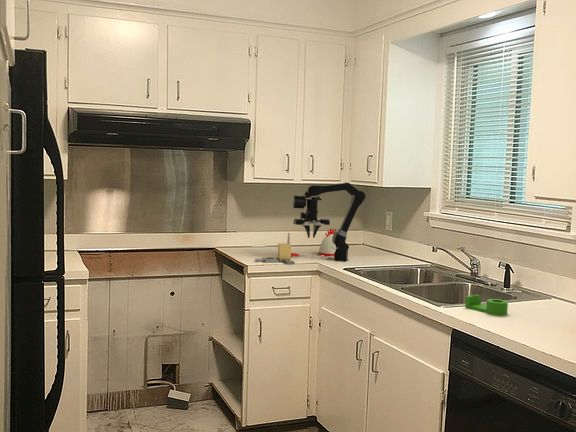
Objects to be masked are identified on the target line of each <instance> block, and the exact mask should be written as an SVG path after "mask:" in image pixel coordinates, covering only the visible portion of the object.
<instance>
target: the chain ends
mask: <svg viewBox="0 0 576 432" xmlns="http://www.w3.org/2000/svg"><path fill="white" fill-rule="evenodd" d="M254 260H255V262H256V263H265V264H269V263H271V264H272V263H273V264H274V263H276V264H277V263H285V264H286V265H295V264H296V261H294V260H292V259H291V260H290V259H279V261H278V256H276V257H273V256H272V257H271V256H268V257H265V256H264V257H261V258H255V259H254Z"/></svg>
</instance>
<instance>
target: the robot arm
mask: <svg viewBox="0 0 576 432" xmlns="http://www.w3.org/2000/svg"><path fill="white" fill-rule="evenodd" d="M339 191H346V192H347V193H348V194H349V195H351V198H350V202H349V203H350V204H349V207H348V210H347V211H346V214H345V216H344V218H343V220H342V223H341V224H340V227H339V229H338V230H336V231H335V230H334V231H335V232H334V235H333V236H332V242H333V244H334V245H335V246H336V248H337V249H336V251H335V253H334V257H333V259H334V261H336V262H337V261H338V262H347V261H349V260H350V259H349V248H350V245H348V243H346V240H347V237H348V236H347V234H348V231H349V228H350V226H351V223H352V222H353V219H354V218H355V215H356V212H357V211H358V209H359V207H360V206H361V205H362V204H363V202H364V201H365V199H366V194H365V192H364V191H362V190H359V189H357V188H356V187H354V186H353V185H352V184H351V183H350V182H348V181H347V182H342V183H334V184H333V183H332V184H325V185H322V184H321V185H320V184H311V185H308V186H307V187H306V191H305V192H304V194H303V195H293V198H292V209H305V207H306V210H305V212H300V213H299V215H300V216H299V218H294V219H293V224H294V225H300V226H303V228H304V229H305V232H306V235H307V238H308V239H310V236H311V225H310V224H312V225H313V229H312V238H313V239H315V237H316V235H317V232H318V231H319V229H320V227H322V225H325V226H330V223H331V222H330V219H328V218H319V219H318V213H319V211H318V206H319V204H318V203H319V201H322V198H321V197H320V195H322V194H325V193H331V192H339Z"/></svg>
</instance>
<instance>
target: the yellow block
mask: <svg viewBox="0 0 576 432" xmlns="http://www.w3.org/2000/svg"><path fill="white" fill-rule="evenodd" d="M291 253H292V244H291V243H289V244H287V243H278V244H277V257H278V262H279V259H290V260H292V259H291V258H292V257H291Z"/></svg>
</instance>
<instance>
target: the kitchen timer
mask: <svg viewBox="0 0 576 432" xmlns="http://www.w3.org/2000/svg"><path fill="white" fill-rule="evenodd" d="M335 231H337V229H336V228H335V230H334V228H329V230H327V232H325V237H324V238H323V239H322V241H321V243H320V246H319V248H318V249H319V250H318V255H319V254H320V255H319V256H321V255H324V256H323V257H329V256H334V253H335V251H336V249H337V248H336V246H335V245H334V244H333V242H332V236H333V235H334V232H335Z"/></svg>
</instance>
